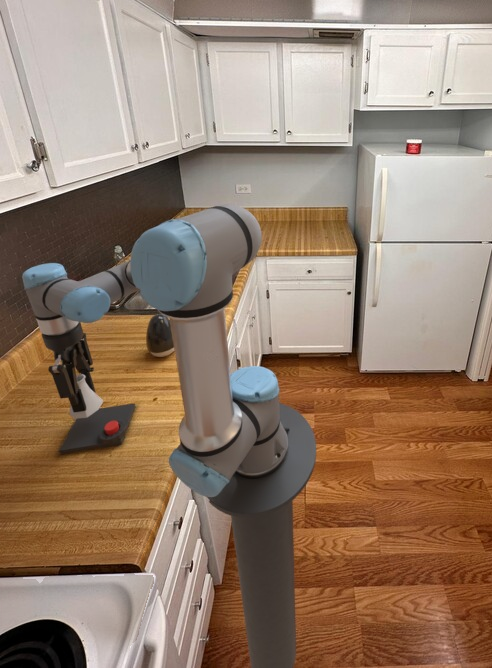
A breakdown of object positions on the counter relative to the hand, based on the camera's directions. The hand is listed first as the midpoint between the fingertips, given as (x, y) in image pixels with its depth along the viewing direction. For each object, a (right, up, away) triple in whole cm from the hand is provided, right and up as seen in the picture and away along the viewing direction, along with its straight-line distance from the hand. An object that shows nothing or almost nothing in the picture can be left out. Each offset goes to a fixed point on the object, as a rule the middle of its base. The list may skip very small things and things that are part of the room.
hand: (85, 401), depth 86 cm
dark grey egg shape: (+6, +3, +32) cm, 32 cm away
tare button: (+8, -7, -1) cm, 11 cm away
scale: (+3, -8, +2) cm, 9 cm away
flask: (0, -2, +1) cm, 2 cm away
